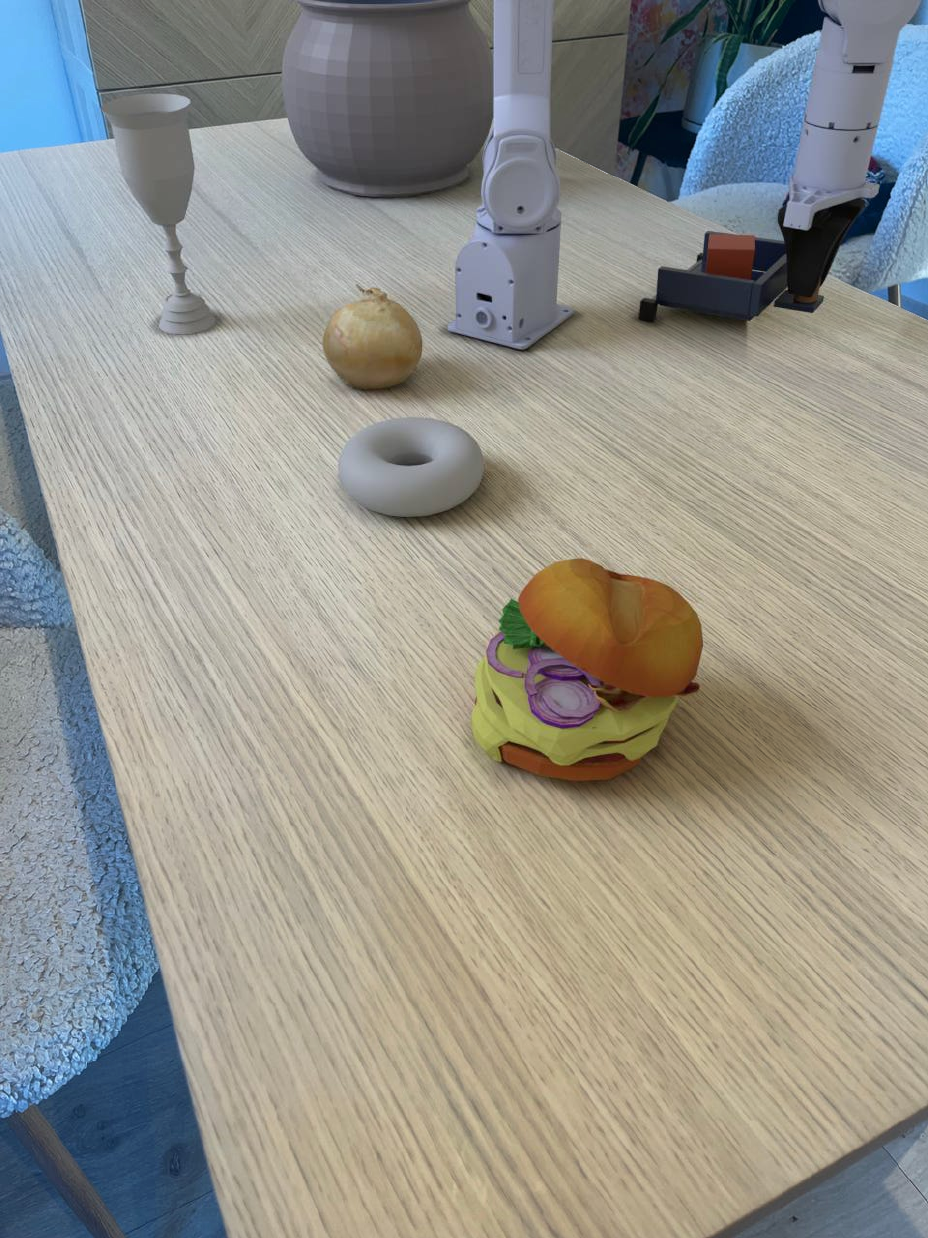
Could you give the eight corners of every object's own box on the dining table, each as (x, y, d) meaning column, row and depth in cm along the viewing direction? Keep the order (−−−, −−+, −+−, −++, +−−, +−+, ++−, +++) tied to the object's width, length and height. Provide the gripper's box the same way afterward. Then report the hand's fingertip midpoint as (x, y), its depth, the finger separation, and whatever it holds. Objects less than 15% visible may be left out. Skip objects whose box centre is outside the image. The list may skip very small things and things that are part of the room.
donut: (309, 496, 69) (423, 544, 64) (303, 451, 67) (420, 498, 62) (403, 437, 75) (513, 477, 70) (400, 395, 73) (513, 433, 68)
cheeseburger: (429, 688, 54) (468, 526, 49) (595, 670, 59) (647, 521, 53) (513, 824, 47) (570, 650, 41) (694, 791, 51) (767, 631, 46)
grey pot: (263, 164, 129) (240, -18, 117) (437, 138, 138) (433, -33, 126) (338, 221, 112) (321, 16, 100) (531, 187, 121) (538, -5, 109)
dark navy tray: (698, 266, 99) (702, 215, 96) (837, 287, 93) (847, 234, 90) (646, 307, 91) (650, 254, 88) (795, 334, 85) (804, 277, 82)
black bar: (698, 270, 100) (700, 252, 99) (711, 272, 100) (714, 254, 99) (637, 319, 91) (639, 300, 90) (652, 322, 91) (654, 303, 90)
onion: (443, 379, 82) (442, 294, 78) (365, 410, 78) (358, 323, 74) (383, 348, 87) (378, 266, 82) (306, 376, 83) (297, 291, 78)
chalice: (206, 342, 88) (166, 117, 76) (134, 336, 89) (84, 113, 78) (237, 309, 94) (204, 95, 82) (169, 303, 95) (127, 91, 83)
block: (749, 294, 91) (754, 249, 88) (703, 293, 91) (707, 248, 89) (749, 278, 94) (754, 234, 91) (704, 277, 94) (709, 233, 92)
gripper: (866, 150, 74) (825, 328, 82) (915, 108, 83) (873, 271, 92) (772, 136, 77) (742, 309, 85) (830, 97, 86) (797, 257, 95)
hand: (804, 289), depth 89 cm, fingers closed on dark navy tray, 2 cm apart
